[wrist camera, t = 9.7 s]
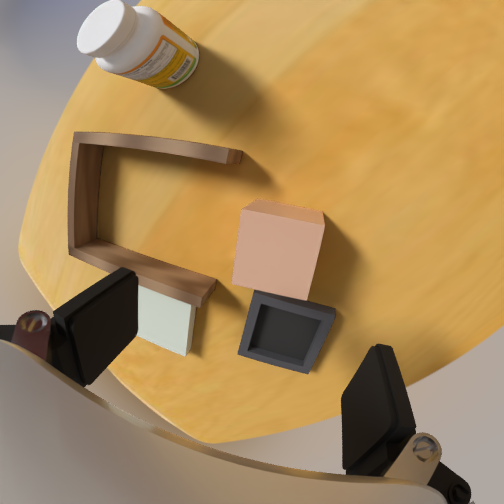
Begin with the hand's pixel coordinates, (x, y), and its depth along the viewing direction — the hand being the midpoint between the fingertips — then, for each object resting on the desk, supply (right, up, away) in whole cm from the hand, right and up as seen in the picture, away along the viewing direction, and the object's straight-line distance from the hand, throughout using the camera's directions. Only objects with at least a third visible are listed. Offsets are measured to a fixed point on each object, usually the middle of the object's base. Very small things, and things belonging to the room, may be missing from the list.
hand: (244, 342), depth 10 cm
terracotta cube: (+3, +5, +12) cm, 13 cm away
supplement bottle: (-7, +20, +9) cm, 22 cm away
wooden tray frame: (-9, +8, +13) cm, 17 cm away
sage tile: (-10, -2, +17) cm, 19 cm away
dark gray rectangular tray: (+3, -4, +14) cm, 15 cm away
